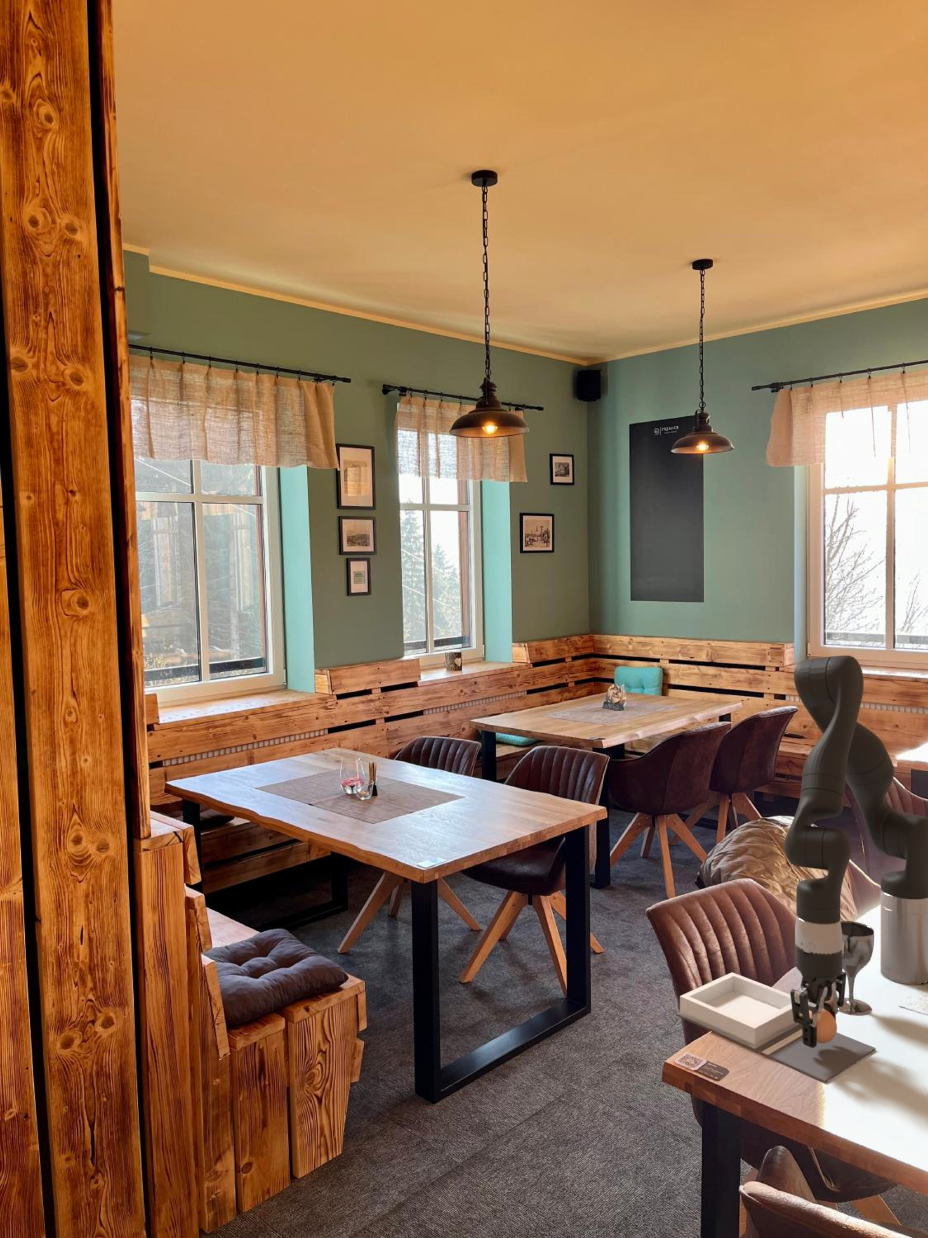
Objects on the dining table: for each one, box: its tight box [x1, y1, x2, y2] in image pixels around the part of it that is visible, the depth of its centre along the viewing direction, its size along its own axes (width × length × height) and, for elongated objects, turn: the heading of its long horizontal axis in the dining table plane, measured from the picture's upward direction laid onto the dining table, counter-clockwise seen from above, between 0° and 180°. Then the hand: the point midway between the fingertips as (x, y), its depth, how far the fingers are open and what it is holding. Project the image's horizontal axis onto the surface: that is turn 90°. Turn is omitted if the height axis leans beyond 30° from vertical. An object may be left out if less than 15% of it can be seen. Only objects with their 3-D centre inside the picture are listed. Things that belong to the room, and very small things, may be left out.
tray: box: [679, 972, 801, 1049], centre depth 168 cm, size 16×16×4 cm
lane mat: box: [675, 1011, 876, 1084], centre depth 163 cm, size 16×30×1 cm, turn 38°
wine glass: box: [838, 920, 875, 1016], centre depth 172 cm, size 8×8×15 cm
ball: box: [809, 1009, 838, 1043], centre depth 156 cm, size 6×6×6 cm
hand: (819, 1039), depth 156 cm, fingers closed on ball, 5 cm apart
